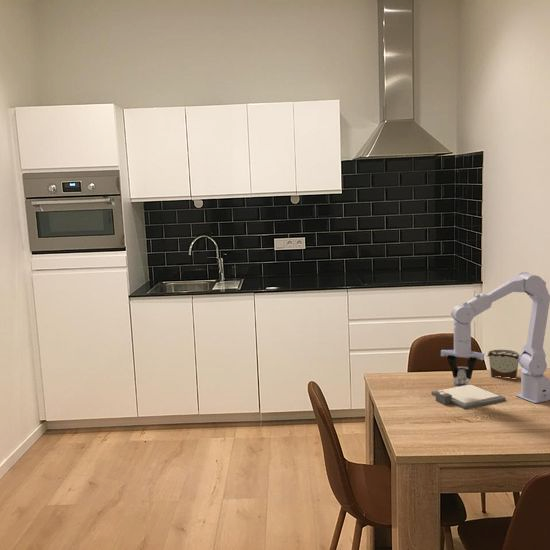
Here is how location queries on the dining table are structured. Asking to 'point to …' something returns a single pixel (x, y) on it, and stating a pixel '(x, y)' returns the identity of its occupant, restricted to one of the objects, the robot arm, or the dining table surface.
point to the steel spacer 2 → (457, 383)
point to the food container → (503, 363)
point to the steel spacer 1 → (462, 375)
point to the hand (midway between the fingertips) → (462, 377)
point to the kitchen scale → (467, 396)
